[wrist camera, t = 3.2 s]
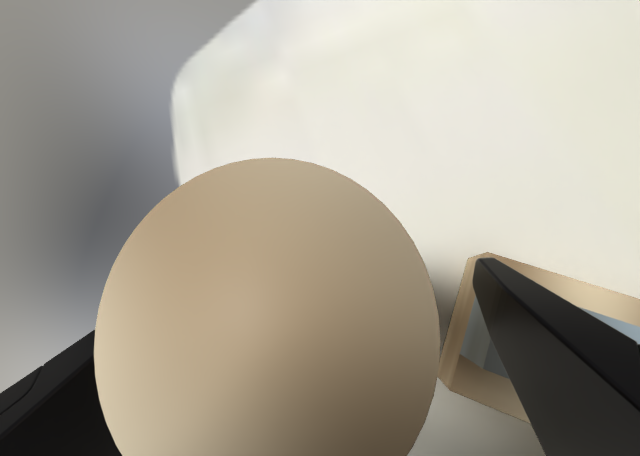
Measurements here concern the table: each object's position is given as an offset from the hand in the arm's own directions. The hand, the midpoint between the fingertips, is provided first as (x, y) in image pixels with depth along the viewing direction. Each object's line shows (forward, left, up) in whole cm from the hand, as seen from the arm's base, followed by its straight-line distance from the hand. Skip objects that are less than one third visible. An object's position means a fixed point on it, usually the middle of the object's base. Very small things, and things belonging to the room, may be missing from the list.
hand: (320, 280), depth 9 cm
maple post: (-1, 0, -7) cm, 7 cm away
